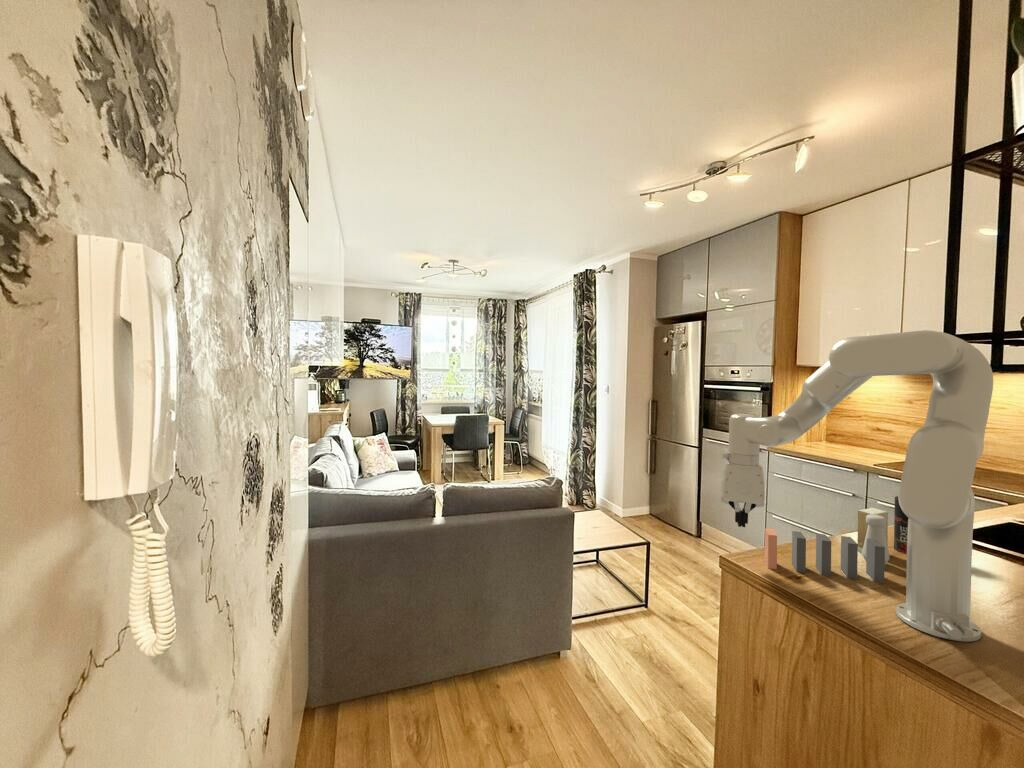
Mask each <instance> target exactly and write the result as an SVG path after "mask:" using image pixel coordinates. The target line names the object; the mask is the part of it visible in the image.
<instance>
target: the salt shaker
mask: <svg viewBox="0 0 1024 768" xmlns="http://www.w3.org/2000/svg"><path fill="white" fill-rule="evenodd" d="M866 523H867V524H868V529H867V533H866V537H865V542H864V546H863V550H862V553H861V555H862V557H863V559H864V560H865V561H866V553H867V539H875V540H877V541H878V542H880V543H881V544H882V545H883V546H884V547H885V566H886V565H887V564H888V562H889V560H890V557H891V556H890V552H889V548H888V546H889V545H888V546H887V541H886V537H885V532H884V527H883V526H886V519H885V518H884V517H882V516H879V515H873V514H870V515H867V516H866Z"/></svg>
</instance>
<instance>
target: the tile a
mask: <svg viewBox="0 0 1024 768" xmlns="http://www.w3.org/2000/svg"><path fill="white" fill-rule="evenodd" d="M806 557H807V538H806V536H805V535H804V534H803V532H802V531H795V530H794V531H793V530H792V531H791V565H792V566H793V569H794V570H795V572H796V573H802V574H806V570H807V569H806V568H807V567H806V565H807V560H806V559H807V558H806Z"/></svg>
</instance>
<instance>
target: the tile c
mask: <svg viewBox="0 0 1024 768" xmlns="http://www.w3.org/2000/svg"><path fill="white" fill-rule="evenodd" d="M841 570H842V571H843V572H842V571H841ZM840 571H841V572H842V574H843V573H844V574H845V575H846V576H845V575H844V574H843V575H844V576H845V578H846V579H847V578H853V579H852V580H855V579H857V580H858V542H856V540H854V539H853V538H852V537H851V536H843V535H840Z"/></svg>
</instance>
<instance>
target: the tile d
mask: <svg viewBox="0 0 1024 768" xmlns="http://www.w3.org/2000/svg"><path fill="white" fill-rule="evenodd" d="M865 563H866V565H865V566H866V567H865V569H866V570H865V574H866V573H867V574H868V575H869V576H870V577H871V578H872V579H873V580H872V579H871V578H870V577H869V576H868V575H867V574H866V575H867V576H868V577H869V578H870V579H871V580H872V582H874V583H878V582H881V583H880V584H885V569H886V568H885V567H886V565H885V547H884V546H883V545H882V544H881V543H880V542H878V541H877V540H875V539H867V553H866V560H865Z"/></svg>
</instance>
